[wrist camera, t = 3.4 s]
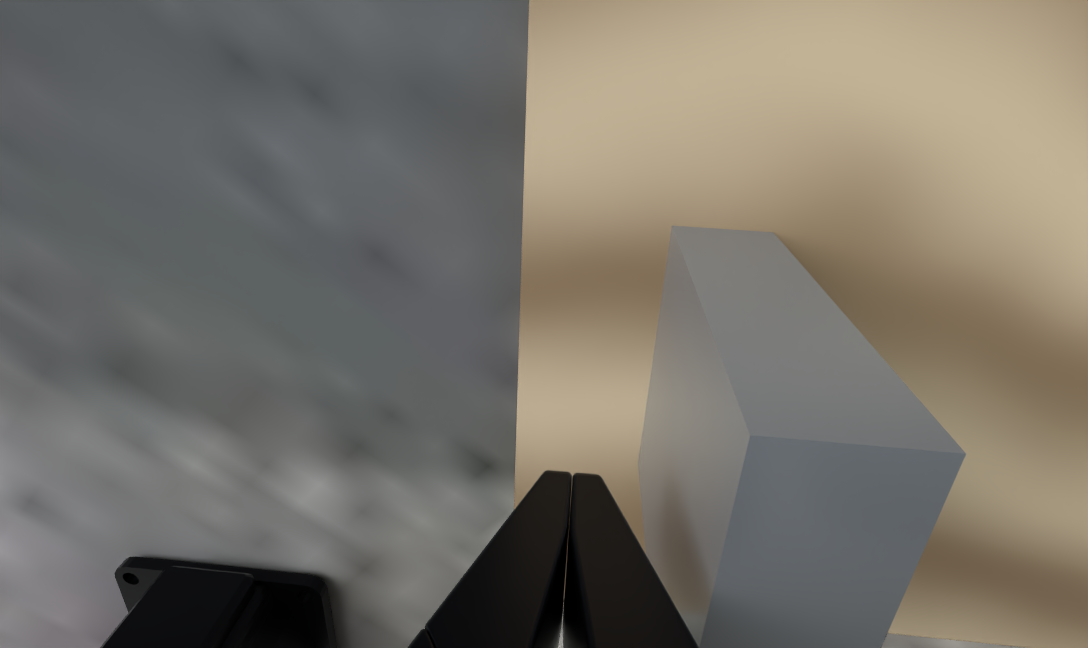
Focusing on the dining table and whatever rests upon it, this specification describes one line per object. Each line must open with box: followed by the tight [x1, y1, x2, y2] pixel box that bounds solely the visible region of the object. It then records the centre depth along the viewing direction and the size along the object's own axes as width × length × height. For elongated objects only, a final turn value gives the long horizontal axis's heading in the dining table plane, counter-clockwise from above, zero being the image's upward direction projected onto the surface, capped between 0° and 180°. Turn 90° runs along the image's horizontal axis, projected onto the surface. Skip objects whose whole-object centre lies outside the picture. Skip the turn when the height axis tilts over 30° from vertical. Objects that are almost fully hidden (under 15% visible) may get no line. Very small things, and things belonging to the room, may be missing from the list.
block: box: [638, 226, 966, 648], centre depth 10 cm, size 6×2×7 cm, turn 177°
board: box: [514, 0, 1088, 648], centre depth 13 cm, size 18×16×1 cm
